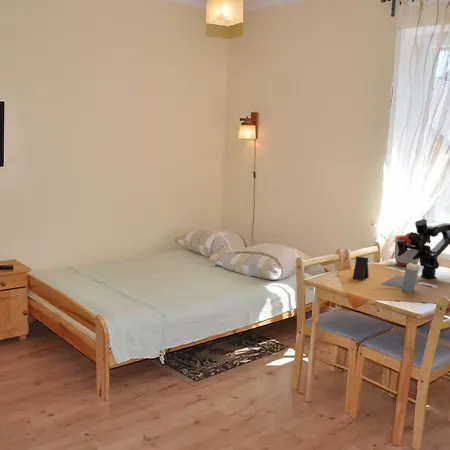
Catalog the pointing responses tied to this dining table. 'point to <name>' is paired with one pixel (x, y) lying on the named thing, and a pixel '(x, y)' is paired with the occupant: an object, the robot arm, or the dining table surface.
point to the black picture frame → (361, 269)
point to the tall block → (410, 277)
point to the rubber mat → (397, 281)
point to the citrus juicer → (408, 254)
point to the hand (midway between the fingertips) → (405, 257)
